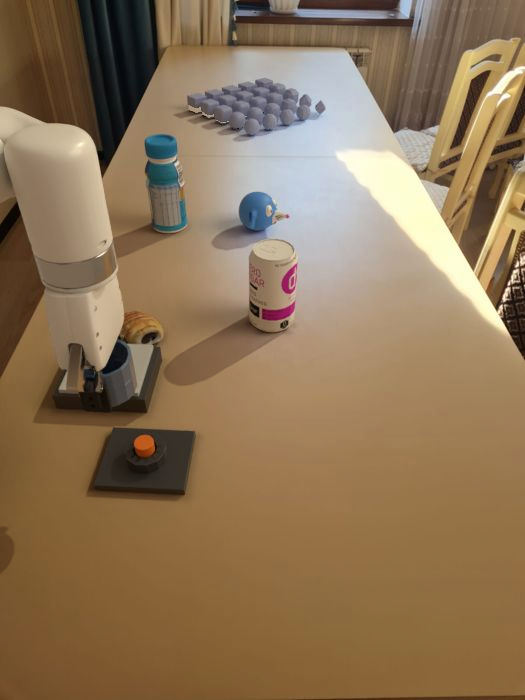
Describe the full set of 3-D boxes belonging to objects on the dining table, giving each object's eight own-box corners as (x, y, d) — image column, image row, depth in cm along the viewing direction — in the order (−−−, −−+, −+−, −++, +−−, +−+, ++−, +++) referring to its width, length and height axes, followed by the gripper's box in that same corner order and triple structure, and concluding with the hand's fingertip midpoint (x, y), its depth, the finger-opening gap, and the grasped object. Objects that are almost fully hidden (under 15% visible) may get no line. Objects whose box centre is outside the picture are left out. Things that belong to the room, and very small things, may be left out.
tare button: (133, 457, 73) (131, 449, 71) (138, 442, 74) (136, 434, 73) (152, 458, 72) (151, 450, 71) (156, 443, 74) (155, 435, 73)
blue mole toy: (281, 246, 119) (282, 211, 114) (231, 236, 122) (229, 202, 117) (296, 221, 128) (298, 188, 122) (249, 213, 131) (248, 180, 125)
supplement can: (301, 315, 101) (306, 244, 91) (280, 340, 95) (283, 267, 85) (264, 302, 104) (265, 232, 94) (241, 325, 98) (239, 253, 88)
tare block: (95, 490, 72) (90, 477, 70) (114, 432, 79) (110, 418, 77) (184, 495, 71) (183, 481, 69) (195, 436, 79) (194, 422, 77)
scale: (56, 409, 82) (50, 391, 80) (80, 356, 91) (75, 339, 89) (147, 413, 82) (143, 395, 80) (162, 360, 91) (159, 342, 89)
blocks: (264, 91, 204) (264, 77, 201) (329, 115, 185) (331, 100, 181) (187, 110, 187) (186, 95, 184) (250, 139, 168) (250, 122, 164)
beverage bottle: (164, 238, 121) (153, 150, 108) (144, 224, 126) (132, 137, 113) (195, 227, 125) (188, 140, 112) (175, 213, 130) (166, 129, 117)
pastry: (111, 327, 97) (107, 310, 95) (144, 313, 101) (142, 297, 98) (134, 355, 92) (131, 337, 89) (169, 340, 95) (167, 323, 92)
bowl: (72, 409, 63) (61, 375, 59) (89, 369, 68) (80, 335, 64) (129, 413, 63) (122, 379, 59) (143, 372, 68) (137, 339, 64)
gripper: (69, 215, 60) (98, 338, 72) (2, 310, 47) (51, 441, 59) (136, 219, 60) (154, 341, 71) (87, 315, 47) (119, 446, 58)
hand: (107, 385), depth 65 cm, fingers closed on bowl, 6 cm apart
